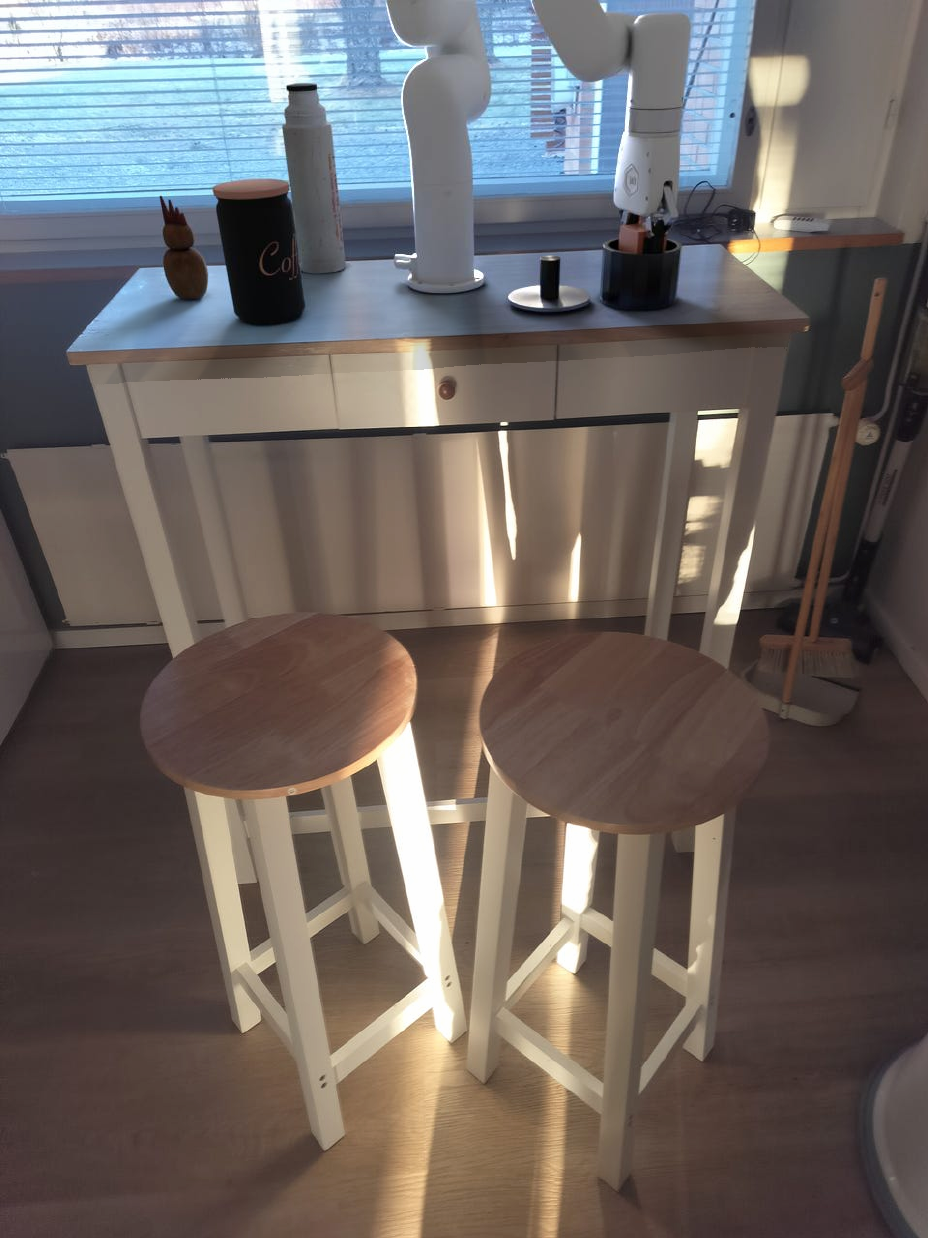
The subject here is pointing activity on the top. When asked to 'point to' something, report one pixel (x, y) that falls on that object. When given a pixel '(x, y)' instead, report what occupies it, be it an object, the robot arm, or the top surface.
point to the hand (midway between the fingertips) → (640, 259)
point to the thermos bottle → (313, 181)
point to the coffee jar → (260, 250)
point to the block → (634, 238)
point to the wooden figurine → (182, 256)
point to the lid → (549, 291)
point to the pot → (639, 277)
